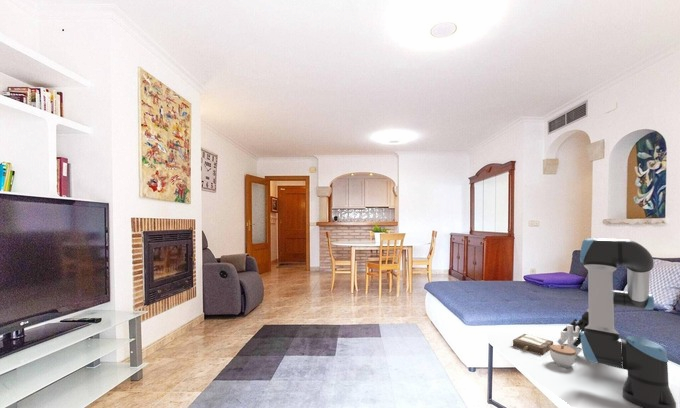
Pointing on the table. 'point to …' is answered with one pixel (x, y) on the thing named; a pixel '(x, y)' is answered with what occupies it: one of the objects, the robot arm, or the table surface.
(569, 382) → the table surface
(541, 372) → the table surface
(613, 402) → the table surface
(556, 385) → the table surface
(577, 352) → the figurine
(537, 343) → the wooden box
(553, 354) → the lidded jar
